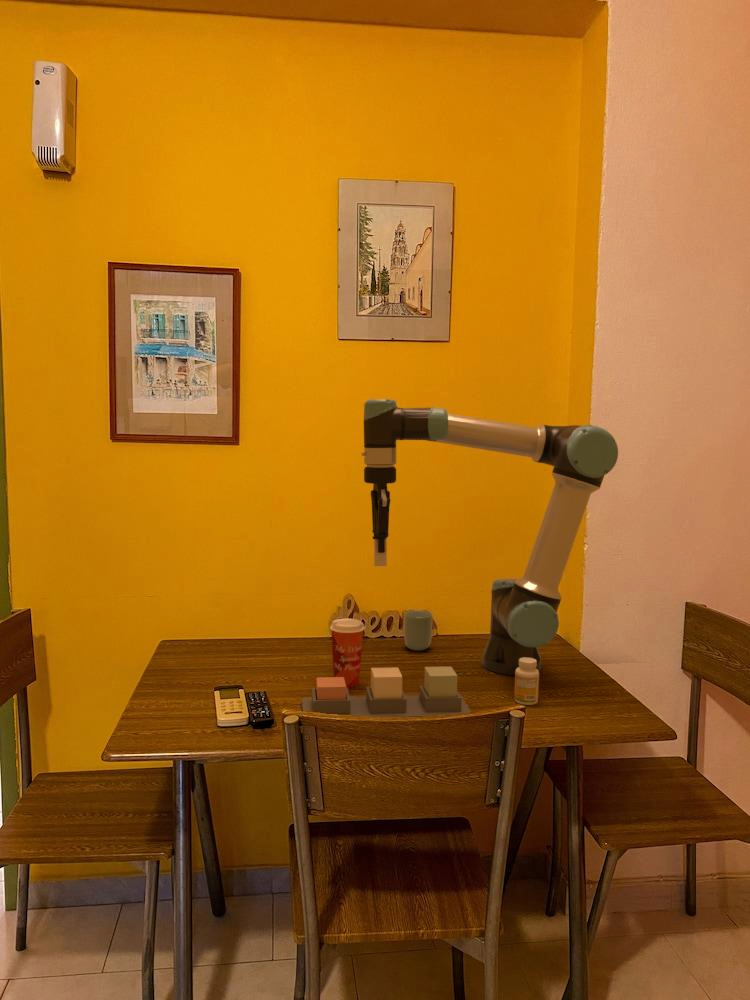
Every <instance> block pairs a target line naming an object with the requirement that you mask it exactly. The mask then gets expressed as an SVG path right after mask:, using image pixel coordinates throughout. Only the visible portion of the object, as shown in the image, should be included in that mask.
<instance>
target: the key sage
mask: <svg viewBox="0 0 750 1000" xmlns="http://www.w3.org/2000/svg"><path fill="white" fill-rule="evenodd" d="M423 686H424V690H425V691H426V693H427V695H428V697H457V691H458V674H457V673H456V671H455V670H454V669H453V667H452V666H424V681H423Z"/></svg>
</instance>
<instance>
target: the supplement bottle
mask: <svg viewBox="0 0 750 1000" xmlns="http://www.w3.org/2000/svg"><path fill="white" fill-rule="evenodd" d="M519 666H520V667H518V668H517V669H516V671H515V675H514V690H513V691H514V694H513V695H514V696H513V699H514V701H515V702H516V703H518V704H520V705H524V706H533V705H536V704H538V701H539V690H540V689H539V687H540V671H538V670H537V669H536V666H537V660H536V659H533V658H528V657H523V658H520V659H519Z"/></svg>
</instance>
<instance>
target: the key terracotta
mask: <svg viewBox="0 0 750 1000" xmlns="http://www.w3.org/2000/svg"><path fill="white" fill-rule="evenodd" d="M315 686H316V687H315V688H316V700H339V699H346V684H345V680H344V677H334V676H332V677H331V676H330V677H329V676H328V677H327V676H325V677H316V685H315Z"/></svg>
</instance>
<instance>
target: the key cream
mask: <svg viewBox="0 0 750 1000" xmlns="http://www.w3.org/2000/svg"><path fill="white" fill-rule="evenodd" d="M370 687H371V692H372V696H373V699H383V698H402V690H403V675H402V673H401V671H400V669H399V667H371V668H370Z"/></svg>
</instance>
